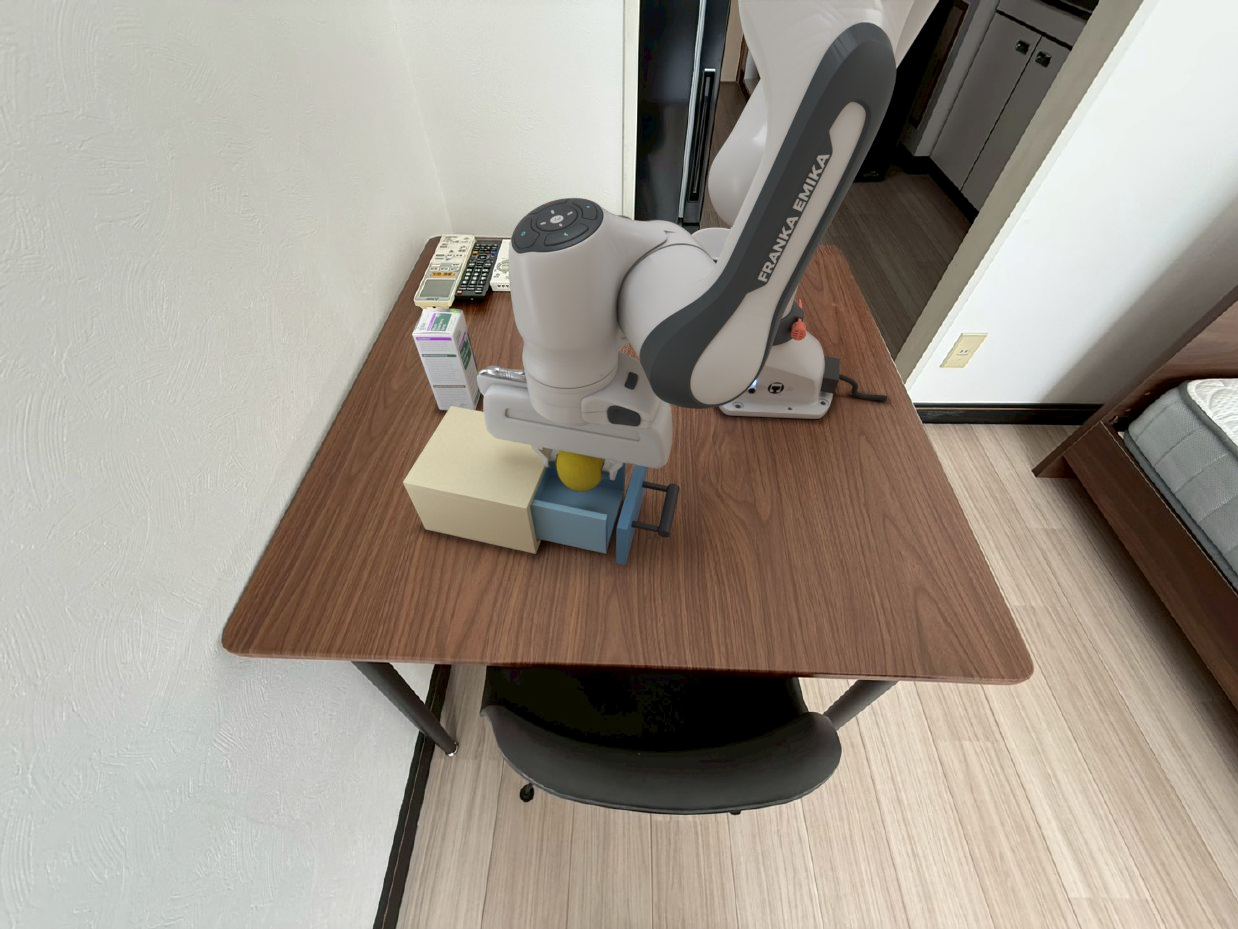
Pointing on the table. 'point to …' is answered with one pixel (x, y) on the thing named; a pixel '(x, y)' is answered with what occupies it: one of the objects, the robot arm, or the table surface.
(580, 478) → the lemon
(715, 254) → the food container
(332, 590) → the table surface
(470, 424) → the cream drawer cabinet
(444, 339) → the syrup box
